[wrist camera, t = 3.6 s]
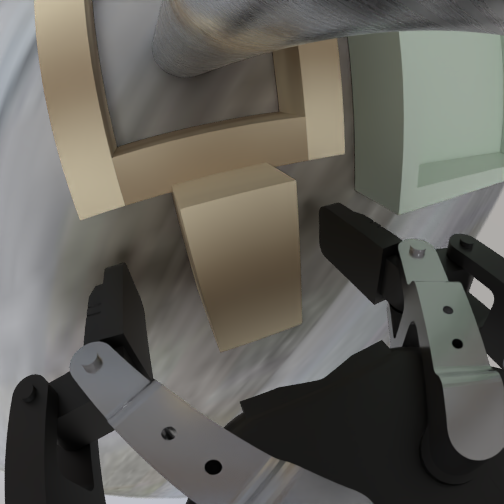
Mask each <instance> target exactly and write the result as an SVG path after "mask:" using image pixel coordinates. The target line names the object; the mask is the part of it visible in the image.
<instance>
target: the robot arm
mask: <svg viewBox="0 0 504 504" xmlns="http://www.w3.org/2000/svg"><path fill="white" fill-rule="evenodd" d="M319 242H320V248H321V251H322V253H323V255H324V256H325V257H326V258H327V259H328V260H329V261H330V262H331V263H332V264H333V265H334V266H335V267H336V268H337V269H338V270H339V271H340V272H341V273H342V274H343V275H344V276H345V277H346V278H347V279H349V280H350V281H351V282H352V283H353V284H354V285H355V286H356V287H357V288H358V289H359V290H360V291H361V292H362V293H363V294H364V295H365V296H366V297H367V298H368V299H369V300H370V301H371V302H372V303H373V304H374V305H375V304H377V303H379V302H381V301H383V300H385V299H386V300H387V301H388V304H387V318H388V327H389V338H390V349H389V347H388V346H387V345H386V344H385V343H384V342H383V341H382V340H381V341H379V342H377V343H375V344H373V345H371V346H370V347H368V348H366V349H364V350H362V351H360V352H358V353H356V354H354V355H352V356H351V357H349V358H348V359H347V360H346V361H345V362H343V363H342V364H341V365H340V366H339V367H337V368H336V369H335V370H334V371H332V372H331V373H330V374H329V375H327V376H326V377H325V378H323V379H321V380H317V381H312V382H307V383H302V384H296V385H290V386H284V387H279V388H276V389H274V390H271V391H268V392H266V393H263V394H260V395H257V396H255V397H252V398H249V399H246V400H243V401H240V404H241V407H242V410H243V413H241V414H240V415H238V416H237V417H235V418H234V419H233V420H232V421H230V422H229V423H228V424H227V425H226V426H225V427H224V428H223V427H221V426H220V425H218V424H217V423H215V422H214V421H212V420H211V419H209V418H208V417H206V416H205V415H203V414H202V413H200V412H199V411H198V410H196V409H195V408H193V407H192V406H191V405H189V404H188V403H186V402H185V401H184V400H182V399H181V398H180V397H178V396H177V395H176V394H174V393H173V392H172V391H170V390H169V389H168V388H166V387H165V386H164V385H162V384H161V383H160V382H158V381H157V380H155V379H153V374H152V367H151V361H150V354H149V347H148V339H147V331H146V322H145V313H144V308H143V305H142V301H141V299H140V296H139V294H138V291H137V289H136V287H135V284H134V282H133V279H132V277H131V275H130V272H129V270H128V267H127V265H126V264H125V263H121V264H118V265H115V266H112V267H108V268H106V269H105V272H104V281H103V284H101V285H98V286H95V288H94V290H93V291H92V293H91V295H90V296H89V302H88V309H87V318H86V326H85V336H84V346H83V347H81V348H80V349H79V350H78V351H77V352H76V353H75V354H74V356H73V357H72V359H71V362H70V367H69V368H70V371H69V372H68V373H66V374H64V375H63V376H61V377H59V378H57V379H55V380H54V381H52V382H50V383H48V382H47V381H46V379H45V378H44V377H42V376H41V375H36V374H35V375H30V376H27V377H26V378H24V379H23V380H22V381H20V383H19V384H18V385H17V386H16V388H15V390H14V392H13V396H12V402H11V408H10V415H9V423H8V432H7V442H6V456H5V504H106V502H105V496H104V489H103V483H102V475H101V467H100V459H99V448H98V439H99V438H101V437H103V436H105V435H106V434H108V433H110V432H112V431H114V430H116V432H117V433H118V434H119V435H120V436H121V437H122V438H123V439H124V440H125V441H126V442H127V443H128V444H129V445H130V446H131V447H132V448H133V449H134V450H135V451H136V452H137V453H138V454H139V455H140V456H141V457H142V458H143V459H144V460H145V461H146V462H147V463H148V464H149V465H151V466H152V467H153V468H154V469H155V470H156V471H157V472H158V473H159V474H161V475H162V476H163V477H164V478H165V479H166V480H167V481H169V482H170V483H171V484H172V485H173V486H175V487H176V488H177V489H178V490H180V491H181V492H182V493H183V494H185V495H186V496H187V497H188V500H187V502H186V504H504V258H503V257H502V256H500V255H499V254H497V253H496V252H494V251H493V250H491V249H490V248H488V247H487V246H485V245H484V244H482V243H481V242H479V241H478V240H476V239H475V238H473V237H471V236H468V235H465V234H455V235H452V236H451V237H450V239H449V244H448V248H443V249H435V248H434V247H433V246H432V245H431V244H429V243H427V242H425V241H422V240H418V239H407V240H404V241H402V240H401V239H400V238H398V237H397V236H395V235H394V234H392V233H391V232H389V231H388V230H386V229H385V228H383V227H381V226H380V225H379V224H377V223H376V222H373V220H371V219H370V218H368V217H367V216H365V215H363V214H359V213H356V212H353V211H352V210H350V209H349V208H347V207H346V206H344V205H342V204H341V203H335V204H331V205H327V206H324V207H321V208H320V211H319ZM474 277H475V278H476V279H477V280H479V281H480V282H481V283H482V284H484V285H485V286H486V287H488V288H489V289H490V290H491V291H492V293H493V295H494V304H493V307H492V308H491V310H490V309H488V308H487V307H486V306H485V305H484V304H483V303H481V302H480V301H479V300H477V299H476V298H475V297H474V296H473V295H472V294H470V293H469V289H470V287H471V284H472V281H473V278H474ZM486 353H487V354H488V355H489V356H490V357H491V358H492V359H493V360H494V361H495V362H496V363H497V364H498V365H499V366H500V367H501V368H502V369H500V368H495V367H491V366H490V364H489V361H488V357H487V354H486Z"/></svg>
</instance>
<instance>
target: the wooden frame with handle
mask: <svg viewBox="0 0 504 504" xmlns="http://www.w3.org/2000/svg"><path fill="white" fill-rule="evenodd" d="M34 7H35V25H36V37H37V47H38V55H39V63H40V70H41V76H42V82H43V88H44V94H45V99H46V104H47V109H48V113H49V118H50V122H51V126H52V131H53V135H54V139H55V142H56V146H57V150H58V154H59V157H60V161H61V164H62V168H63V171H64V174H65V177H66V181H67V184H68V187H69V190H70V193H71V196H72V199H73V202H74V205H75V207H76V210H77V213H78V216H79V218H80V220H83V219H86V218H89V217H92V216H95V215H98V214H101V213H104V212H107V211H110V210H113V209H116V208H119V207H123V206H126V205H129V204H132V203H136V202H139V201H142V200H146V199H149V198H152V197H156V196H159V195H163V194H166V193H170V192H172V196H173V200H174V205H175V209H176V213H177V216H178V220H179V224H180V228H181V232H182V236H183V239H184V243H185V247H186V251H187V254H188V258H189V261H190V265H191V268H192V272H193V275H194V279H195V282H196V286H197V289H198V292H199V295H200V297H201V300H202V303H203V306H204V309H205V312H206V315H207V317H208V320H209V323H210V326H211V328H212V331H213V334H214V337H215V339H216V342H217V345H218V347H219V350H220V353H221V352H224V351H227V350H230V349H233V348H236V347H239V346H242V345H245V344H248V343H251V342H253V341H256V340H259V339H262V338H265V337H268V336H270V335H273V334H276V333H279V332H281V331H284V330H287V329H289V328H292V327H295V326H297V325H300V324H302V294H301V263H300V240H299V220H298V203H297V187H296V180H295V179H293V178H291V177H290V176H288V175H287V174H285V173H283V172H282V171H280V170H278V169H276V168H275V167H277V166H282V165H287V164H292V163H297V162H302V161H308V160H313V159H319V158H324V157H330V156H336V155H342V154H345V138H344V115H343V98H342V84H341V72H340V61H339V52H338V43H337V38H335V39H329V40H323V41H318V42H312V43H307V44H303V45H298V46H293V47H289V48H285V49H281V50H277V51H273V52H272V53H273V61H274V69H275V77H276V86H277V95H278V104H279V112H273V113H266V114H259V115H253V116H247V117H241V118H235V119H229V120H224V121H219V122H213V123H209V124H204V125H199V126H194V127H190V128H186V129H181V130H177V131H173V132H169V133H165V134H161V135H157V136H154V137H150V138H146V139H143V140H139V141H136V142H132V143H129V144H125V145H122V146H119V147H117V145H116V141H115V137H114V132H113V128H112V123H111V119H110V114H109V110H108V105H107V100H106V95H105V89H104V84H103V78H102V73H101V67H100V61H99V54H98V47H97V40H96V32H95V24H94V15H93V4H92V0H34Z"/></svg>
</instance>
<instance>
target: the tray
mask: <svg viewBox="0 0 504 504" xmlns="http://www.w3.org/2000/svg"><path fill="white" fill-rule="evenodd" d="M348 44H349V54H350V64H351V76H352V89H353V106H354V131H355V190H356V191H357V192H359V193H361V194H363V195H365V196H366V197H368V198H370V199H372V200H373V201H375V202H377V203H379V204H380V205H382V206H384V207H385V208H387V209H389V210H390V211H392V212H394V213H395V214H397V215H401V214H404V213H407V212H410V211H414V210H417V209H420V208H423V207H426V206H429V205H432V204H435V203H438V202H442V201H445V200H448V199H451V198H454V197H457V196H460V195H463V194H466V193H469V192H472V191H476V190H479V189H482V188H485V187H488V186H491V185H494V184H497V183H500V182H503V181H504V36H503V35H496V34H487V33H477V32H463V31H398V32H384V33H373V34H364V35H355V36H348Z"/></svg>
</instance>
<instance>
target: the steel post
mask: <svg viewBox="0 0 504 504" xmlns="http://www.w3.org/2000/svg"><path fill="white" fill-rule="evenodd" d="M398 31H463V32H477V33H487V34H496V35H503V36H504V0H162V4H161V8H160V12H159V16H158V21H157V25H156V30H155V34H154V39H153V45H152V51H153V56H154V58H155V61H156V62H157V64H158V65H159V66H160V67H161V68H162V69H163V70H164V71H166V72H167V73H169V74H171V75H174V76H178V77H193V76H197V75H200V74H203V73H206V72H208V71H211V70H214V69H217V68H220V67H223V66H226V65H229V64H232V63H235V62H238V61H241V60H244V59H248V58H251V57H254V56H258V55H262V54H265V53H269V52H273V51H277V50H281V49H285V48H289V47H293V46H298V45H303V44H307V43H312V42H318V41H323V40H329V39H335V38H341V37H348V36H355V35H364V34H373V33H384V32H398Z"/></svg>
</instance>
